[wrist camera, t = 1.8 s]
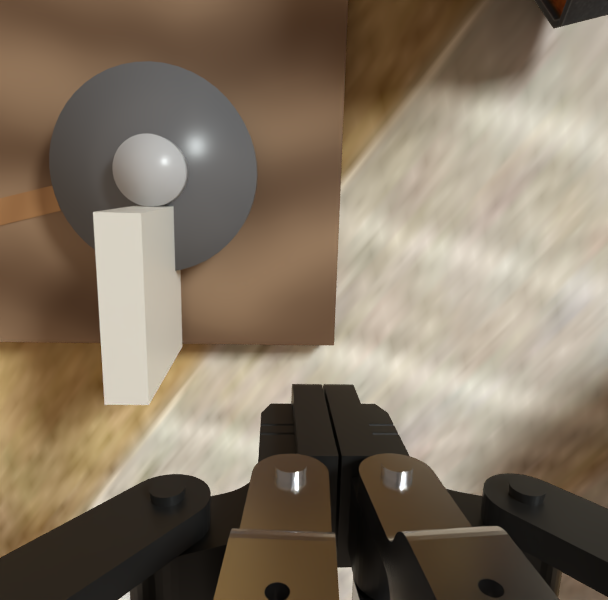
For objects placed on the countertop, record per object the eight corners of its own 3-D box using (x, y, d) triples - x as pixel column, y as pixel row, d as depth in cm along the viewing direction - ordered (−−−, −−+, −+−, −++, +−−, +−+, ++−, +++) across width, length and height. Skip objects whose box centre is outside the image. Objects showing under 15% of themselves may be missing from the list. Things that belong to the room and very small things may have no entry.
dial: (53, 63, 23) (-42, 12, 16) (258, 72, 23) (251, 25, 16) (74, 345, 26) (0, 404, 19) (256, 347, 26) (249, 405, 19)
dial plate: (-28, -24, 24) (-49, -39, 22) (344, -6, 25) (349, -18, 23) (8, 333, 27) (-8, 342, 26) (330, 336, 28) (333, 345, 27)
